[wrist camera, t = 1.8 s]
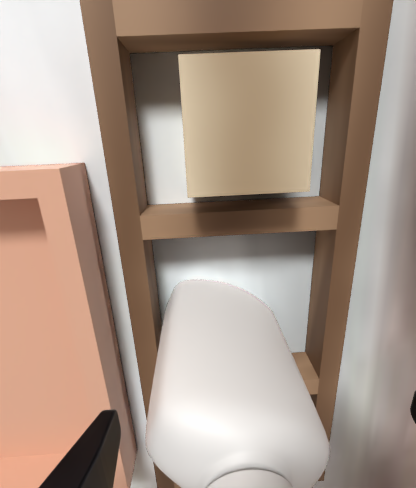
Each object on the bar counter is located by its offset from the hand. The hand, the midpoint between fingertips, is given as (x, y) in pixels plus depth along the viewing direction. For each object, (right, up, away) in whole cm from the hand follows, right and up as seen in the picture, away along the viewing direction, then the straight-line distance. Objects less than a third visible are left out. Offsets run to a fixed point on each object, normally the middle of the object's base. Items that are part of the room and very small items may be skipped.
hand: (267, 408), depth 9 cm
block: (-1, +10, +4) cm, 11 cm away
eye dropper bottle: (-1, +2, +7) cm, 7 cm away
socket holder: (0, +2, +7) cm, 7 cm away
